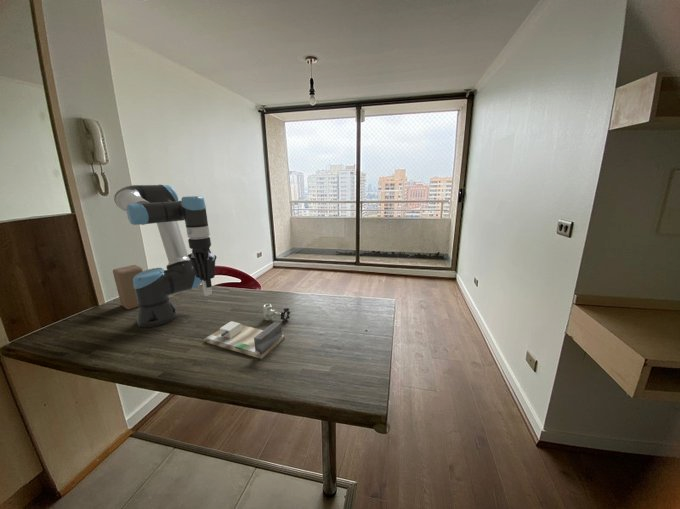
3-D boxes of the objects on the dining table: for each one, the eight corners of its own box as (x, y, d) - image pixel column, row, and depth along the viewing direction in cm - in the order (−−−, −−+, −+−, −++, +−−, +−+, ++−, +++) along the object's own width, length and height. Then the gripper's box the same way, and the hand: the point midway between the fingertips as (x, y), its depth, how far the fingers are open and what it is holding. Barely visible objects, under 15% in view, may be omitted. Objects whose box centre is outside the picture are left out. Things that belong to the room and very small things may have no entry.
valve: (260, 321, 119) (283, 325, 115) (259, 307, 117) (281, 312, 113) (269, 314, 125) (290, 318, 121) (268, 301, 123) (290, 305, 119)
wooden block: (143, 298, 144) (135, 264, 138) (150, 303, 138) (142, 267, 133) (120, 305, 136) (111, 269, 131) (127, 310, 130) (118, 272, 125)
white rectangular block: (215, 339, 102) (214, 331, 101) (232, 328, 110) (231, 321, 109) (225, 342, 101) (223, 334, 100) (241, 331, 108) (240, 323, 107)
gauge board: (204, 341, 103) (202, 325, 101) (231, 324, 116) (229, 310, 114) (261, 359, 93) (259, 341, 91) (284, 338, 105) (283, 322, 103)
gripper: (178, 238, 99) (188, 295, 105) (202, 240, 94) (212, 300, 100) (195, 234, 106) (204, 288, 112) (219, 236, 101) (227, 293, 107)
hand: (208, 294), depth 106 cm, fingers closed
